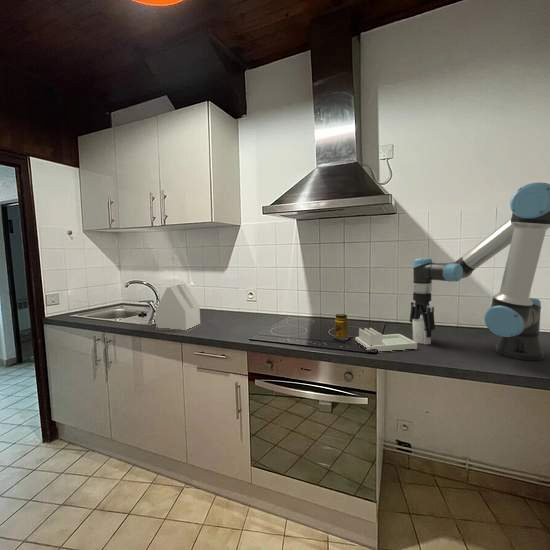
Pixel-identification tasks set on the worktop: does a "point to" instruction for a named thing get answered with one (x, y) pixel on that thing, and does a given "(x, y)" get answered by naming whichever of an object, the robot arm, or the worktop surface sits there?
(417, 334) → the white cup
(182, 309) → the white house-shaped block
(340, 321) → the condiment
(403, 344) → the dish rack
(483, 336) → the worktop surface
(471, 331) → the worktop surface
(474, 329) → the worktop surface
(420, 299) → the robot arm
